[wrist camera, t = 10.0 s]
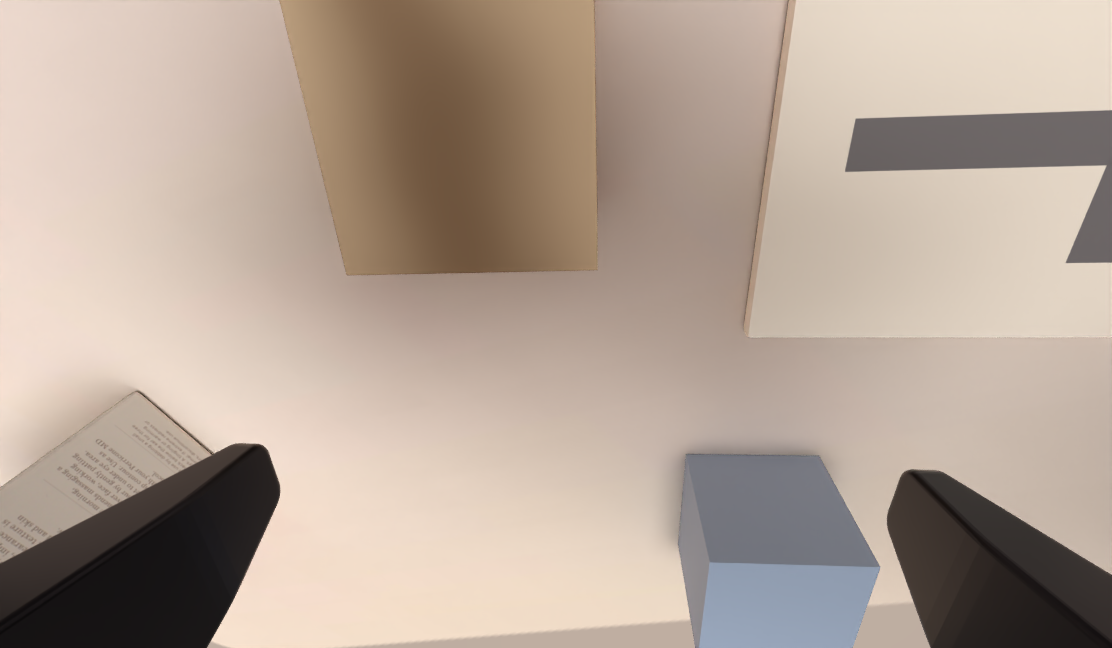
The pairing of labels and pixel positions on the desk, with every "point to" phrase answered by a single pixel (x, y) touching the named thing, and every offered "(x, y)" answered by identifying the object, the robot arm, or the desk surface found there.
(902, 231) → the board
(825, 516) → the slate blue cube
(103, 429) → the small box
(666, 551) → the desk surface
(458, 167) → the light oak block
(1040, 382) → the desk surface
